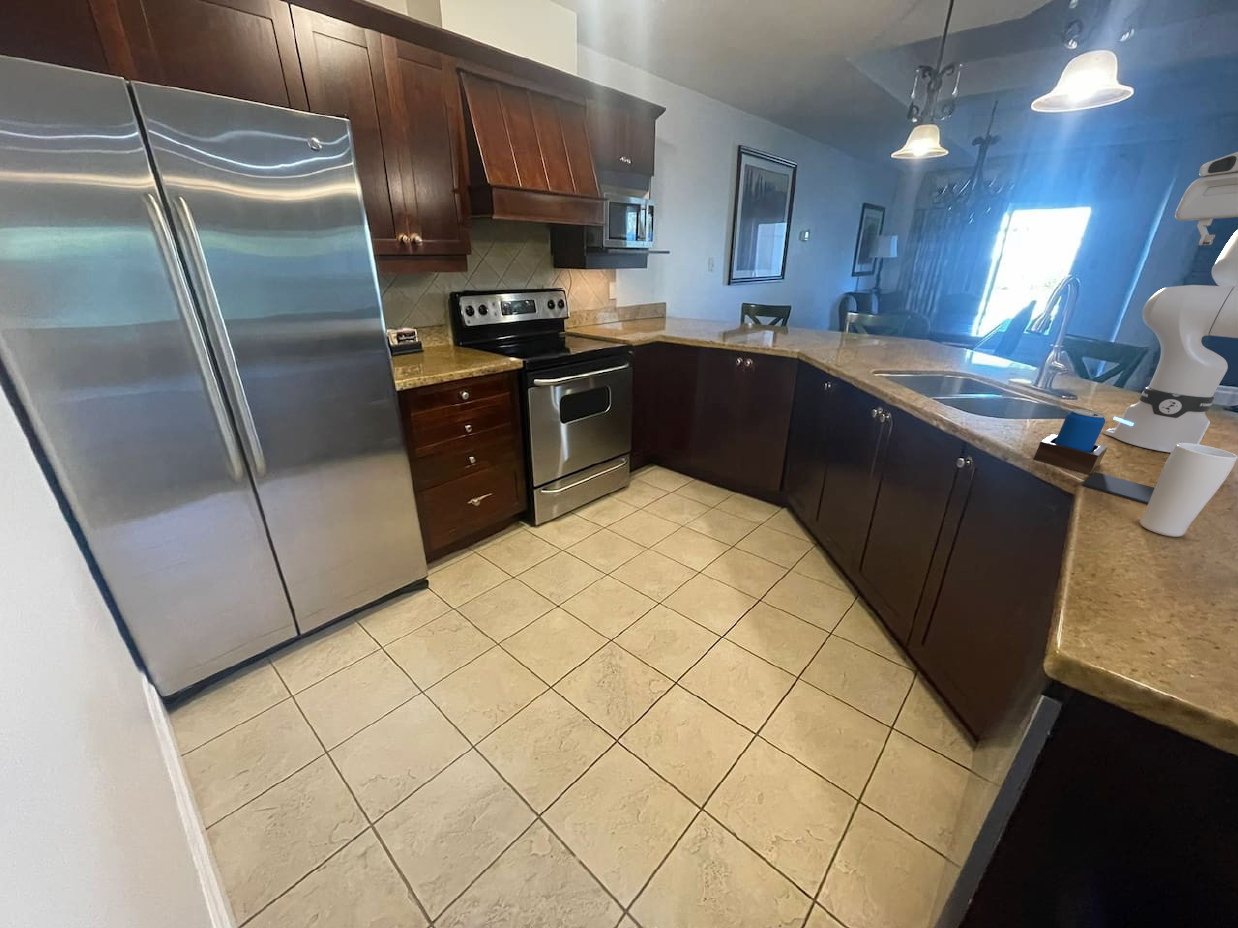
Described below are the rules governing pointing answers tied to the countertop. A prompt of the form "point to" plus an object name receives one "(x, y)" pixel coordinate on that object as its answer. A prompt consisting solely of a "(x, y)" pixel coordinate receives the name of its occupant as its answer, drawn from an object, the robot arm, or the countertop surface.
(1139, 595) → the countertop surface
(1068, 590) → the countertop surface
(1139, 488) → the coaster
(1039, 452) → the box
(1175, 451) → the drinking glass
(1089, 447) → the beverage can
